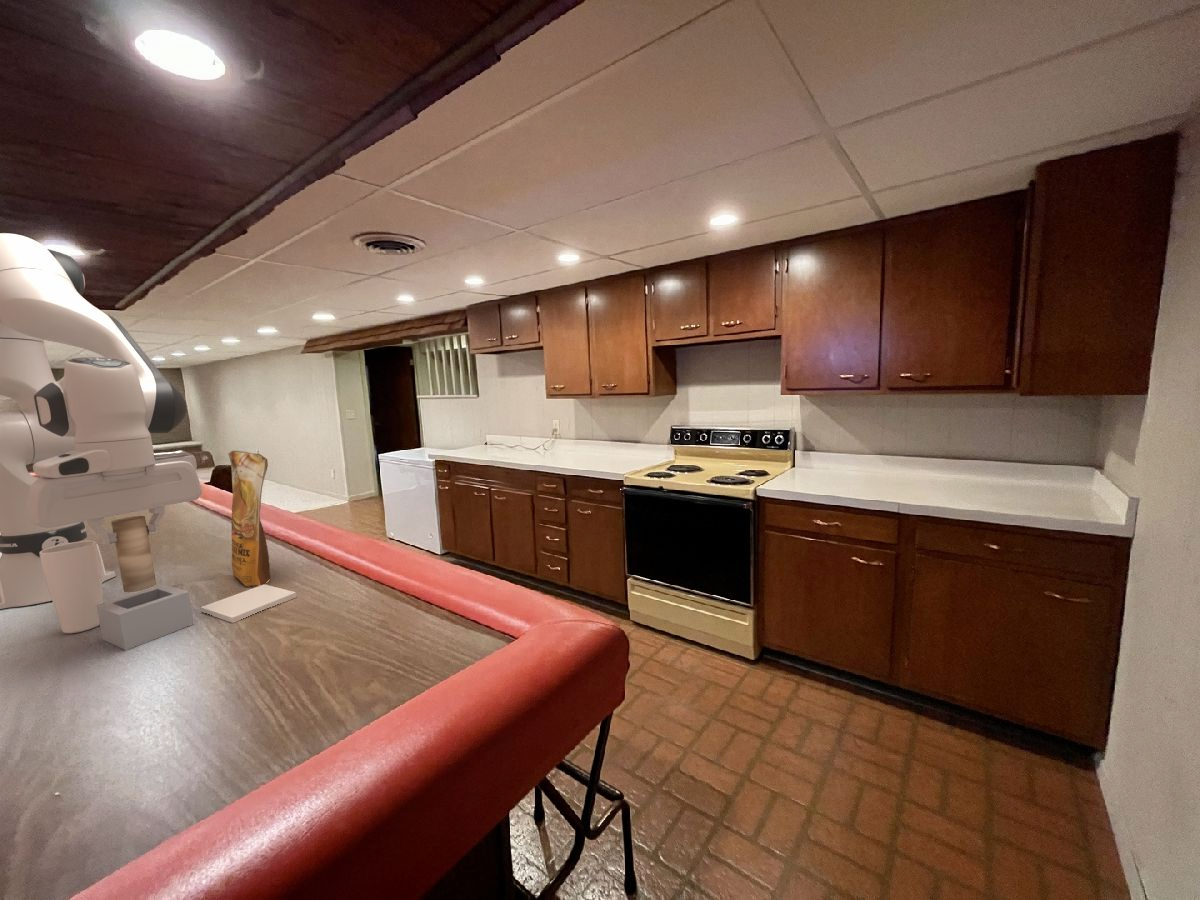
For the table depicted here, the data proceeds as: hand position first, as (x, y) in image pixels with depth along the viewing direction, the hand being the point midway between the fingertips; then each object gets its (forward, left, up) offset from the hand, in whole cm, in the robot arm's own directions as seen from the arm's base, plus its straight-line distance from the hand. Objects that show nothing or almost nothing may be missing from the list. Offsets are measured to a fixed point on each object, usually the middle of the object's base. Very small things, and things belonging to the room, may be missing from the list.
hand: (131, 538), depth 79 cm
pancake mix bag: (-9, +22, -17) cm, 29 cm away
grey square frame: (0, 0, -17) cm, 17 cm away
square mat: (+6, +13, -17) cm, 22 cm away
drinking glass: (-14, -4, -17) cm, 22 cm away
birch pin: (0, 0, -9) cm, 9 cm away
